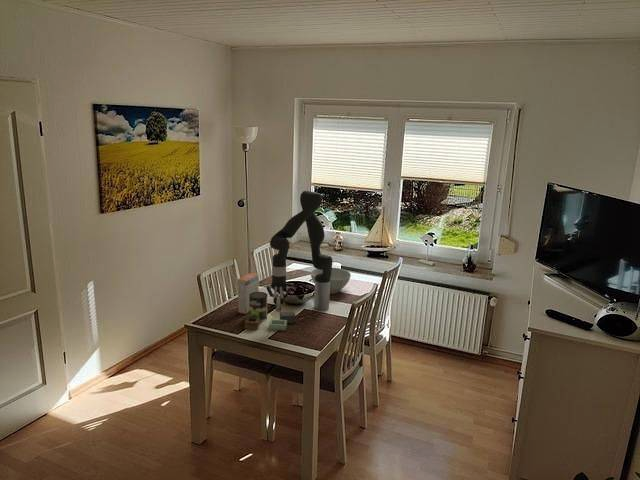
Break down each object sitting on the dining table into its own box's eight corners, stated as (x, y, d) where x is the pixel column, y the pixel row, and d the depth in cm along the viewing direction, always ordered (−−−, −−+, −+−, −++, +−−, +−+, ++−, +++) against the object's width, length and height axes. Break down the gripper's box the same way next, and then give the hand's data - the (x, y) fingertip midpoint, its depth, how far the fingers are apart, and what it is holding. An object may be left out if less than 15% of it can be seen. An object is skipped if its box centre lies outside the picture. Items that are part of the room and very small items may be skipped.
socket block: (247, 323, 257) (247, 316, 256) (259, 324, 256) (259, 317, 255) (244, 329, 250) (244, 322, 249) (257, 329, 250) (257, 322, 249)
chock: (279, 319, 264) (279, 311, 263) (293, 318, 266) (293, 311, 265) (281, 323, 259) (281, 316, 258) (295, 322, 261) (295, 315, 259)
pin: (276, 309, 252) (276, 294, 250) (281, 309, 252) (281, 294, 250) (275, 311, 250) (275, 295, 247) (280, 311, 250) (281, 296, 247)
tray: (270, 324, 257) (271, 319, 256) (287, 325, 257) (287, 320, 256) (268, 329, 250) (268, 324, 250) (285, 330, 250) (285, 325, 249)
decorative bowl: (350, 298, 299) (351, 280, 296) (309, 296, 299) (309, 279, 296) (349, 284, 325) (349, 268, 322) (310, 282, 325) (311, 266, 322)
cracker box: (250, 304, 283) (250, 272, 278) (259, 306, 281) (259, 273, 276) (237, 312, 271) (237, 278, 266) (246, 314, 268) (245, 280, 263)
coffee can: (262, 322, 258) (262, 299, 255) (246, 319, 262) (245, 296, 258) (270, 316, 268) (270, 293, 264) (254, 313, 271) (254, 290, 268)
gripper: (293, 272, 249) (292, 302, 253) (267, 270, 250) (266, 300, 254) (291, 276, 242) (290, 307, 246) (264, 275, 243) (264, 306, 247)
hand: (278, 303), depth 250 cm, fingers closed on pin, 2 cm apart
